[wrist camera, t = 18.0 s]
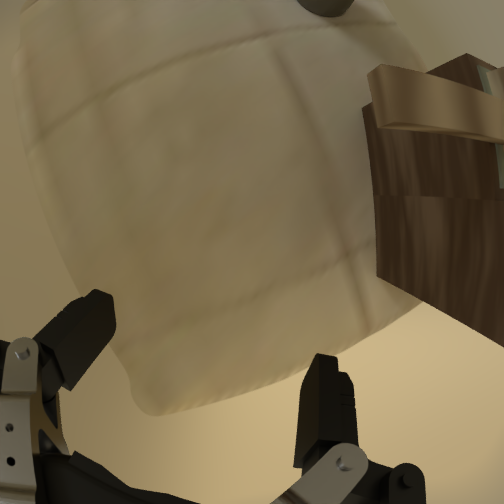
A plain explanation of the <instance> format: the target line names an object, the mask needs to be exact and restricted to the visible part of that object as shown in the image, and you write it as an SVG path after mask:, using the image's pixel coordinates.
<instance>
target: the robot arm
mask: <svg viewBox="0 0 504 504" xmlns="http://www.w3.org/2000/svg"><path fill="white" fill-rule="evenodd" d="M297 1H298V2H299V3H300V4H301V5H302V6H304V7H305V8H306V9H308V10H310V11H311V12H314V13H316V14H319V15H322V16H328V17H335V16H340V15H342V14H344V13H345V12H346V10H347V9H348V8H349V7H350V6H351V4H352V3H353V1H354V0H297ZM115 330H116V318H115V310H114V301H113V297H112V295H111V294H108V293H105V292H103V291H100V290H97V289H94V290H92V291H91V292H90V293H89V294H88V295H86V296H85V297H80V298H78V299H76V300H74V301H72V302H70V303H69V304H68V305H67V306H66V307H65V308H64V309H63V311H61V312H59V313H58V314H57V317H54V318H53V319H52V320H51V321H50V322H49V323H48V324H47V325H46V326H45V327H44V328H43V329H42V330H41V331H40V332H39V333H38V334H36V335H35V336H34V337H33V338H32V339H31V338H27V337H22V338H18V339H16V340H14V341H13V342H11V343H10V342H6V341H3V340H0V504H199V503H196V502H192V501H189V500H186V499H182V498H179V497H176V496H173V495H170V494H166V493H160V492H153V491H147V490H141V489H135V488H131V487H129V486H127V485H126V484H125V483H123V482H122V481H121V480H119V479H118V478H117V477H116V476H114V475H113V474H112V473H110V472H109V471H108V470H107V469H105V468H104V467H103V466H102V465H100V464H98V463H96V462H94V461H92V460H91V459H89V458H87V457H85V456H83V455H82V454H80V453H78V452H76V451H74V453H73V455H72V456H71V455H69V451H68V447H67V444H66V442H65V439H64V437H63V432H62V424H61V414H60V401H59V392H58V390H59V389H60V387H61V386H62V387H64V388H66V389H67V390H69V391H71V390H72V389H73V388H74V386H75V385H76V384H77V382H78V381H79V380H80V378H81V377H82V376H83V374H84V373H85V372H86V370H87V369H88V368H89V367H90V365H91V364H92V363H93V361H94V360H95V359H96V358H97V356H98V355H99V354H100V353H101V351H102V350H103V349H104V347H105V346H106V345H107V344H108V342H109V341H110V340H111V339H112V337H113V336H114V333H115ZM299 400H300V401H299V413H298V424H297V435H296V446H295V456H294V465H293V467H294V468H302V476H301V478H300V479H299V480H298V481H297V482H296V483H295V484H293V485H292V486H291V487H290V488H289V489H287V491H285V492H284V493H283V494H282V495H280V496H279V497H278V498H277V499H275V500H274V501H273V502H272V503H270V504H426V491H425V479H424V475H423V473H422V471H421V470H420V469H419V468H418V467H417V466H416V465H413V464H410V463H403V464H400V465H398V466H396V467H395V468H390V467H387V466H384V465H381V464H377V463H375V462H372V461H370V460H369V459H368V458H367V456H366V454H365V453H364V451H363V450H362V449H361V448H359V444H358V431H357V418H356V409H355V398H354V386H353V383H352V381H351V380H350V377H349V376H348V374H347V373H346V372H339V370H338V359H337V357H335V356H329V355H324V354H319V353H317V354H316V355H315V357H314V359H313V361H312V363H311V365H310V367H309V370H308V371H307V373H306V375H305V378H304V380H303V382H302V386H301V390H300V399H299Z"/></svg>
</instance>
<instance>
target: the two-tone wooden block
mask: <svg viewBox="0 0 504 504" xmlns="http://www.w3.org/2000/svg"><path fill="white" fill-rule="evenodd" d="M495 69H498V68H496V67H494V66H492V65H490V64H488V63H486V62H484V61H482V60H480V59H478V58H476V57H474V56H472V55H470V54H467V53H466V54H464V55H462V56H459V57H457V58H455V59H453V60H451V61H449V62H447V63H445V64H443V65H441V66H439V67H437V68H435V69H433V70H431V71H429V72H427V73H426V74H430V75H433V76H437V77H440V78H444V79H447V80H450V81H454V82H457V83H460V84H463V85H466V86H468V87H471V88H474V89H477V90H479V91H482V92H485V93H487V94H490V95H492V91H491V88H490V84H489V81H488V78H487V74H486V72H489V71H492V70H495ZM492 96H493V95H492ZM362 112H363V118H364V124H365V130H366V136H367V143H368V150H369V158H370V166H371V175H372V185H373V196H374V209H375V226H376V254H377V277H379V278H381V279H383V280H385V281H387V282H389V283H390V284H392V285H394V286H396V287H398V288H400V289H402V290H404V291H405V292H407V293H409V294H411V295H413V296H415V297H416V298H418V299H420V300H422V301H424V302H426V303H428V304H430V305H431V306H433V307H435V308H436V309H438V310H440V311H442V312H444V313H445V314H447V315H449V316H451V317H452V318H454V319H456V320H458V321H460V322H461V323H463V324H465V325H467V326H468V327H470V328H472V329H473V330H475V331H477V332H479V333H480V334H482V335H484V336H486V337H487V338H489V339H491V340H492V341H494V342H496V343H497V344H499V345H501V346H502V347H504V150H503V145H500V144H496V143H491V142H486V141H481V140H476V139H470V138H465V137H459V136H452V135H445V134H438V133H430V132H421V131H412V130H401V129H387V128H378V127H377V122H376V116H375V110H374V105H373V102H371V103H370V104H368V105H366V106H365V107H363V108H362Z"/></svg>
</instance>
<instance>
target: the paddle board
mask: <svg viewBox="0 0 504 504" xmlns="http://www.w3.org/2000/svg"><path fill="white" fill-rule="evenodd" d="M486 74H487V78H488V81H489V84H490V88H491V91H492V95H493V96H492V95H490V94H487V93H485V92H482V91H479V90H477V89H474V88H471V87H468V86H466V85H463V84H460V83H457V82H454V81H450V80H447V79H444V78H440V77H437V76H433V75H430V74H426V73H422V72H418V71H414V70H409V69H405V68H400V67H395V66H390V65H385V64H380V65H379V66H378V67H376V68H375V69H374V70H372V71H371V72H370V73H368V74H367V77H368V82H369V86H370V91H371V95H372V100H373V105H374V110H375V116H376V122H377V127H378V128H387V129H401V130H412V131H421V132H430V133H438V134H445V135H452V136H459V137H465V138H470V139H476V140H481V141H486V142H491V143H496V144H500V145H503V150H504V67H501V68H498V69H495V70H492V71H489V72H486Z"/></svg>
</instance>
